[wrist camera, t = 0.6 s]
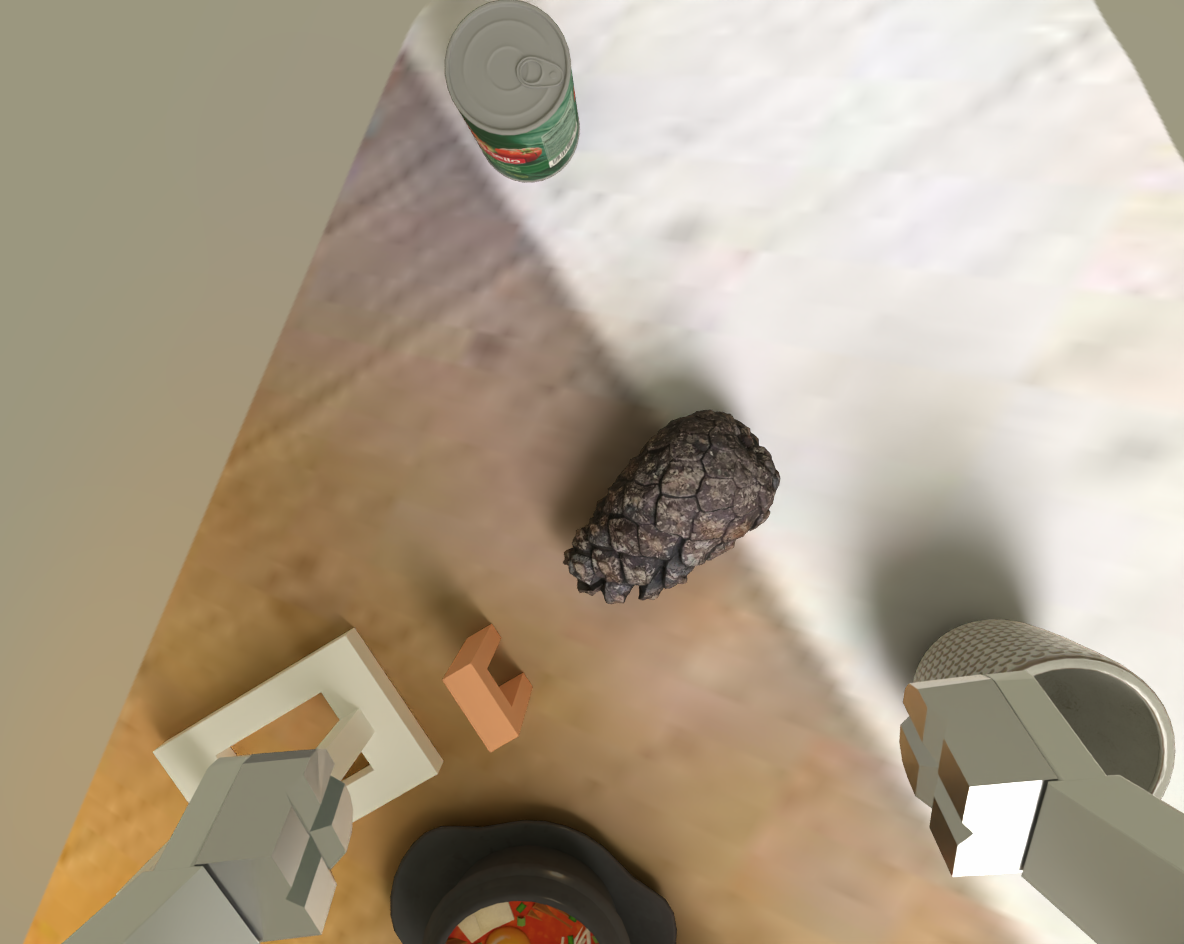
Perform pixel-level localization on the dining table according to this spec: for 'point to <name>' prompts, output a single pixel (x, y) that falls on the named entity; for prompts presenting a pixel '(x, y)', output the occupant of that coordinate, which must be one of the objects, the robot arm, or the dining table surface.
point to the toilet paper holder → (365, 726)
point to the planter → (1069, 693)
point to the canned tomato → (515, 88)
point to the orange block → (487, 691)
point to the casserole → (522, 890)
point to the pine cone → (675, 508)
